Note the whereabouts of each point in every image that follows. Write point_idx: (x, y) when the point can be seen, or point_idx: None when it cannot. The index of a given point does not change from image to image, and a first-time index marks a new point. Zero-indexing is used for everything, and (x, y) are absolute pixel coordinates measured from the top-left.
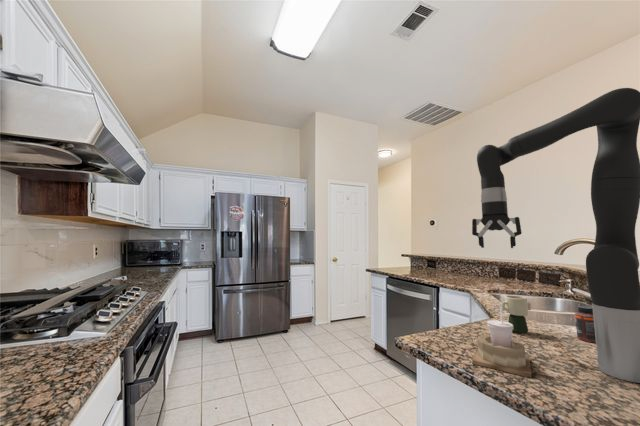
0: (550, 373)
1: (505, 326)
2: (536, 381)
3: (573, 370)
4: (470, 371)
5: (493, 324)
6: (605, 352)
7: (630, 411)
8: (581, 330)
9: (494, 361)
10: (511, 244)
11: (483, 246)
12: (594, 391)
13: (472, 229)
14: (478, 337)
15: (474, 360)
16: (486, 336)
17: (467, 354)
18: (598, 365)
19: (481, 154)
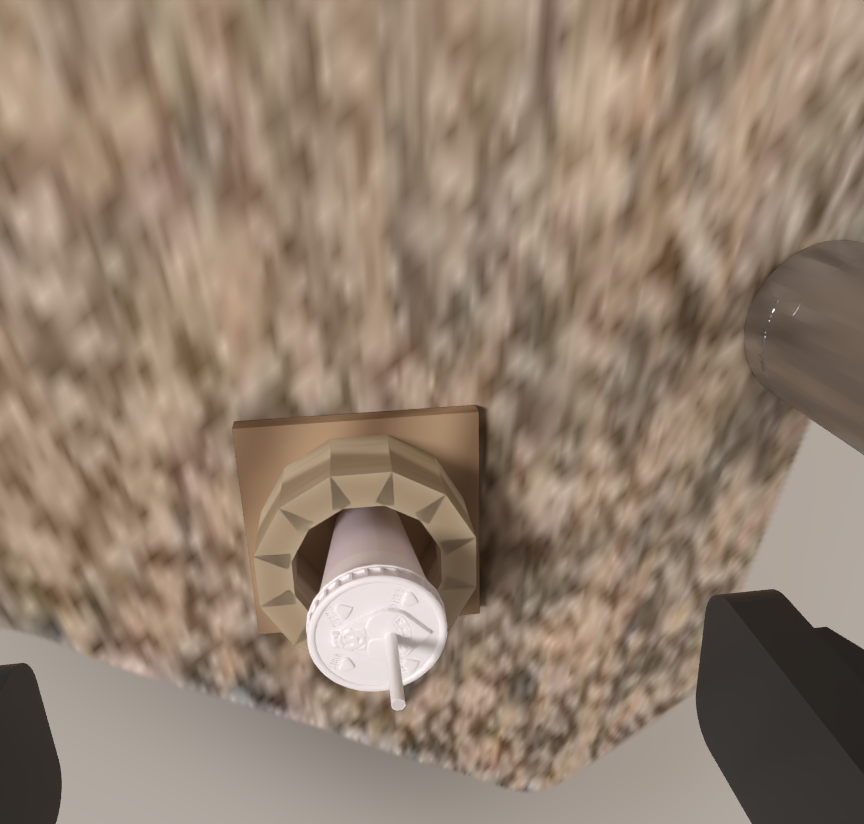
0: (545, 510)
1: (411, 681)
2: (491, 619)
3: (637, 411)
4: (272, 693)
5: (350, 687)
6: (809, 414)
7: None
8: None
9: None
10: (756, 791)
11: (50, 808)
12: (658, 572)
13: None
14: (259, 579)
15: (267, 631)
16: (292, 532)
17: (210, 532)
18: (753, 317)
19: None
